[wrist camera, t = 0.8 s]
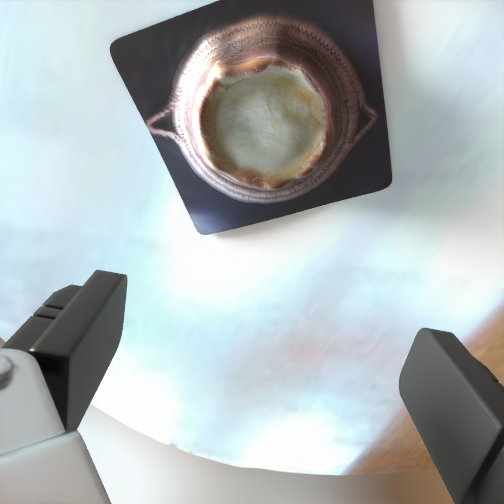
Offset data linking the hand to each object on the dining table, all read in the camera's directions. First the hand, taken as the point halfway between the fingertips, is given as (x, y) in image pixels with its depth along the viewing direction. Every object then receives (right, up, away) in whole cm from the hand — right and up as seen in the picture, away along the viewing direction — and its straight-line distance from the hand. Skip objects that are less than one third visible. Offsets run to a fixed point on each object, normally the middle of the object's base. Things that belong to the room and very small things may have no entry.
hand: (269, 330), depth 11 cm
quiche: (+1, +14, +26) cm, 30 cm away
